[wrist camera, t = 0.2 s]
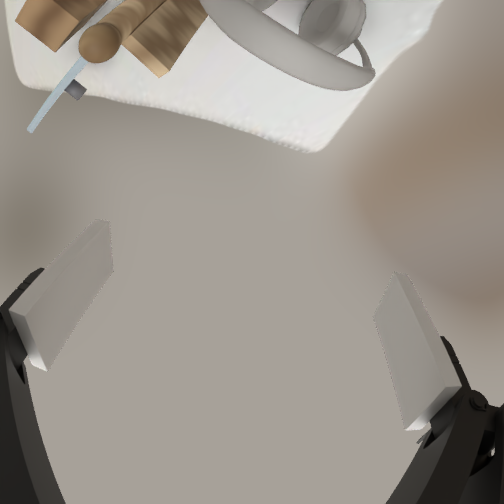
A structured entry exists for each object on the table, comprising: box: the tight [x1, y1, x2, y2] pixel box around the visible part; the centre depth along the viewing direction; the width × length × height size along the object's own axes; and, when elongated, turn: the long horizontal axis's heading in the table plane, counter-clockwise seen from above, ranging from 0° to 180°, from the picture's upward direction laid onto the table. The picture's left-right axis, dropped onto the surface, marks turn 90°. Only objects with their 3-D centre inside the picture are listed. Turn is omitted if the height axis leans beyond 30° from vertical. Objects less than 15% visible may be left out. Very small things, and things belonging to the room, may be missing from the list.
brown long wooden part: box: [79, 0, 208, 78], centre depth 24 cm, size 8×3×22 cm, turn 34°
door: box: [27, 56, 88, 133], centre depth 30 cm, size 4×20×18 cm, turn 124°
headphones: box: [199, 0, 375, 91], centre depth 24 cm, size 19×9×20 cm, turn 61°
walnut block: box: [15, 0, 107, 52], centre depth 26 cm, size 9×7×8 cm
